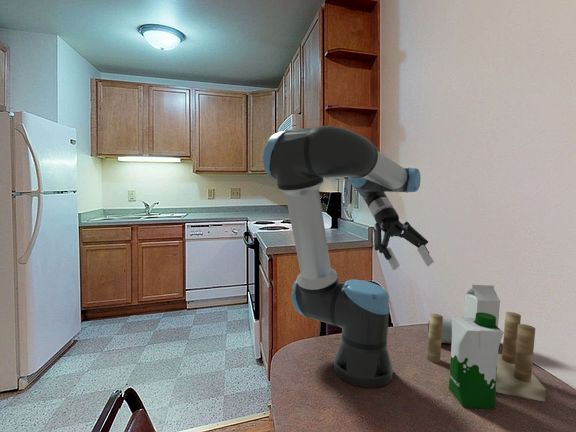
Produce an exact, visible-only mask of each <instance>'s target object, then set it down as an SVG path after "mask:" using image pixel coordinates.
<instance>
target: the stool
mask: <svg viewBox="0 0 576 432" xmlns="http://www.w3.org/2000/svg"><path fill="white" fill-rule="evenodd" d="M521 318H522V316H521V314H520V313H516V312H512V311H506V312H505V316H504V328H503V332H504V333H503V338H502V339H503V341H502V353H498V361H497V374H496V393H499V394H502V395H503V394H504V395H509V396H515V397H518V398H519V397H520V398H523V399H524V398H525V399H528V400H529V399H530V400H534V401H539V402H546V393H547V389H546V387H545V386H544V385H543V384H542V382H541V381H540V380H539V379H538V378H537V376H536V375H535V374H534V373H533V361H534V349H535V337H536V327H535V326H532V325H529V324H525V323H521Z"/></svg>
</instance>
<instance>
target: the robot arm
mask: <svg viewBox="0 0 576 432" xmlns="http://www.w3.org/2000/svg"><path fill="white" fill-rule="evenodd" d="M262 153H263V154H262V164H263V168H264V171H265V173H266V174H267V175H268V176H269V177H270V178H272V179H274V180H276V183H277V190H279V191H281V192H282V193H283V194H285V198H286V204H287V209H288V214H289V220H290V225H291V231H292V236H293V240H294V245H295V251H296V255H297V261H298V266H299V267H298V268H299V271H300V272H299V273H298V275H297V276H296V280H295V281H294V283H293V284H292V292H291V296H290V297H291V302H292V303H291V304H292V305H293V307H294V309H295V311H296V312H297V313H298V314H300V315H301V316H303V317H306V318H308V319H310V320H315V321H319V322H323V323H325V324H329V325H332V326H334V327H338V328H341V340H340V344H339V346H338V349H337V351H336V354H335V356H334V361H333V370H334V372H335V374H336V375H337V377H339V378H340V379H341V380H342V381H345V382H346V383H348V384H350V385H353V386H356V387H361V388H362V387H363V388H380V387H384V386H386V385H388V384H390V382H391V381H392V380H393V372H394V371H393V370H394V369H393V365H392V361H391V357H390V356H391V355H390V353H389V350H388V346H387V345H388V331H389V315H390V309H391V308H390V297H389V293H388V292H387V290H385V289H384V288H383V287H382V286H380V285H379V284H377V283H374V282H371V281H368V280H367V281H366V280H362V279H361V280H359V279H348V280H346V281H345V282H340V281H339V276H338V272H337V271H336V269H334V268H332V267H331V261H330V253H329V247H328V240H327V234H326V227H325V221H324V216H323V215H324V214H323V207H322V200H321V195H320V188H321V185H322V184H324V178H325V179H326V178H327V179H328V178H338V177H339V178H344V177H346V178H347V179H348V181H349V182H350V184H351V186H352V187H353V188H354V189H355V191H357V193H358V194H359V195H360V196H361V197H362V199H363V200H364V202H365V204H366V206H367V207H368V210H369V211H370V213H371V215H372V216H373V218H374V220H375V222H376V223H375V224H374V225H373V226H372V230H373V233H374V239H373V240H374V241H373V242H374V245H373V246H374V250H375V251H376V252H377V251H378V253H379V254H383V256H384V258H385V260H386V261H388V264H389V265H390V267H391V269H392V270H393V271H396V270H397V269H398V268H400V263H399V261H398V259H397V258H396V256H395V254H394V252H393V250H392V248H391V247H388V245H389V242H390V238H393V237H399V238H401V239H404V240H406V241H407V242H409V243H410V244H411V245H413V246H415V247H416V248H417V249H416V250H417V252H418V253H419V255H420V257H421V258H422V261H424V263H425V265H426V266H427V267H430V266H431V265H432V264H433V263H434V262H435V261H434V260H433V258H432V256H431V255H430V252H429V250H428V248H427V247H426V246H427V244H428V243H429V240H428V239H427V238H426V237H424V236H423V235H422V234H421V233H419V231H417V230H416V229H415V228H414V227H413V226H412V225H411V224H410V223H409V221H405V222H403V223H402V222H401V221H400V216H399V214H398V213H397V211H396V209H395V208H394V205H393V203H392V202H391V201H390V198H388V196H387V194H386V192H389V193H391V192H393V193H407V194H408V193H415V192H418V190H419V189H420V186H421V177H422V176H421V172H420V169H418V168H417V167H403V166H401V165H400V164H398V163H397V162H395V161H394V160H392V159H390V158H389V157H388V156H386V155H384V154H383V153H381V152H380V151H379V150H378V148H377V146H376V145H375V144H374V143H373V141H371V140H369V139H368V138H367V137H364V135H361V134H358V133H357V132H354V131H352V130H349V129H346V128H344V127H343V128H342V127H338V126H333V125H320V126H316V127H315V126H314V127H304V128H297V129H296V128H295V129H286V130H283V131H279V132H275V133H274V134H272V135H271V136H270V137H269V138H268V139H267V142H266V145H265V146H264V147H263V152H262ZM382 232H384V233H383V236H382ZM382 237H383V239H382Z"/></svg>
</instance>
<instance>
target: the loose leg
mask: <svg viewBox="0 0 576 432" xmlns="http://www.w3.org/2000/svg"><path fill="white" fill-rule="evenodd" d="M429 319H430V322H429V321H428V322H429V336H428V339H427V340H428V341H427V353H426V354H427V355H426V356H427V360H428V361H429V362H431V363H435V364H437V363H440V362H441V355H442V354H441V353H442V343H441V340H442V324H443V319H444V316H443V315H441V314H438V313H430V314H429Z"/></svg>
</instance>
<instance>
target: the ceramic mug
mask: <svg viewBox="0 0 576 432" xmlns="http://www.w3.org/2000/svg"><path fill="white" fill-rule="evenodd" d="M429 322H430V318H429V320H428V323H427V333H428V334H427V336H428V337H429ZM441 344H450V345H452V319H445V318H443V324H442V340H441Z"/></svg>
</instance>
